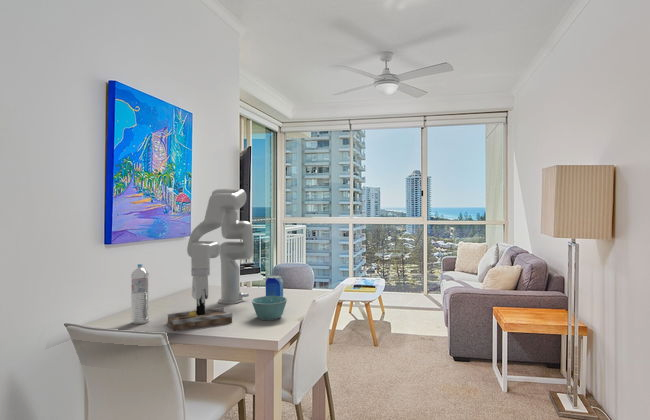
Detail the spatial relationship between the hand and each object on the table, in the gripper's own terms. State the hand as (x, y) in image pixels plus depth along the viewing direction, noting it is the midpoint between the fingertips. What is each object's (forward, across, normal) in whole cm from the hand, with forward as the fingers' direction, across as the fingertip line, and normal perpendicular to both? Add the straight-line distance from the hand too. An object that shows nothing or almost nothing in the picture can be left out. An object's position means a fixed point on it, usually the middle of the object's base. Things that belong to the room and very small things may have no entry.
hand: (200, 314), depth 179 cm
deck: (+4, 0, 0) cm, 4 cm away
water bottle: (+4, -14, -22) cm, 27 cm away
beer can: (+4, -6, +37) cm, 37 cm away
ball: (-1, 0, -3) cm, 3 cm away
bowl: (+4, +7, +29) cm, 30 cm away
